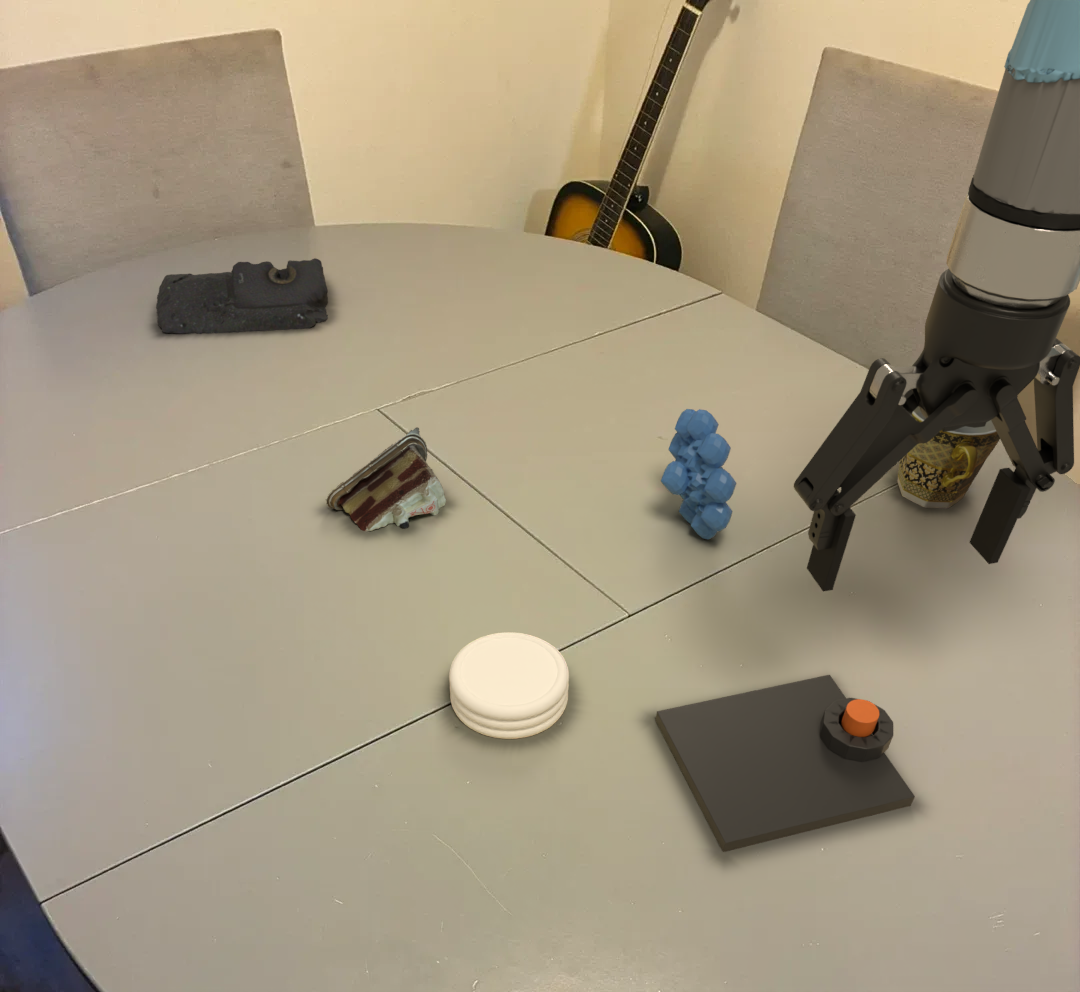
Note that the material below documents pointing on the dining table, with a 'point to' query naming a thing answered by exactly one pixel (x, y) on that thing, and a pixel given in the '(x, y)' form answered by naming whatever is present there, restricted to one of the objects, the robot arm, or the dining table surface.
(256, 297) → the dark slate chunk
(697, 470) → the grapes
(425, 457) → the chocolate cake
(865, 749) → the dark grey flat slab
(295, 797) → the dining table surface
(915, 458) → the ceramic cup
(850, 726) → the button
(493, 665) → the coaster
